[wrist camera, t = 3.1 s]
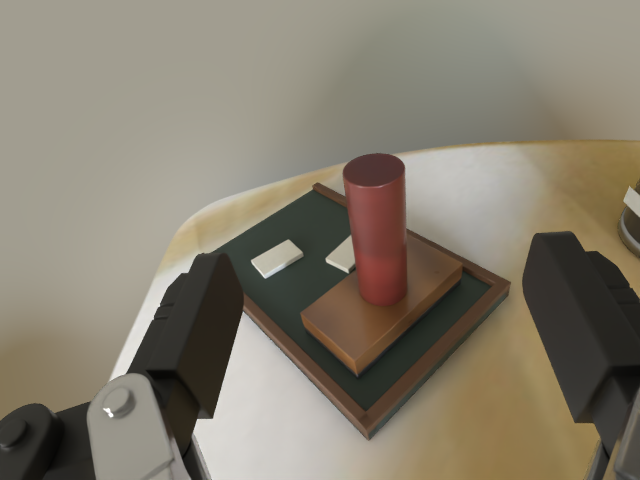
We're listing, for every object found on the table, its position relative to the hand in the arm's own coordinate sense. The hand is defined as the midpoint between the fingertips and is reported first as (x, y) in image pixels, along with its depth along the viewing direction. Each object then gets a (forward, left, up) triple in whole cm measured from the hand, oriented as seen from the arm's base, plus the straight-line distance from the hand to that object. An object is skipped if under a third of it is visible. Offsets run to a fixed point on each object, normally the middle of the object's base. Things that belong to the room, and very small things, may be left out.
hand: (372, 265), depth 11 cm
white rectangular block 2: (-10, -14, -16) cm, 23 cm away
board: (-8, -13, -17) cm, 23 cm away
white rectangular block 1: (-6, -18, -16) cm, 25 cm away
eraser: (-8, -8, -16) cm, 19 cm away
